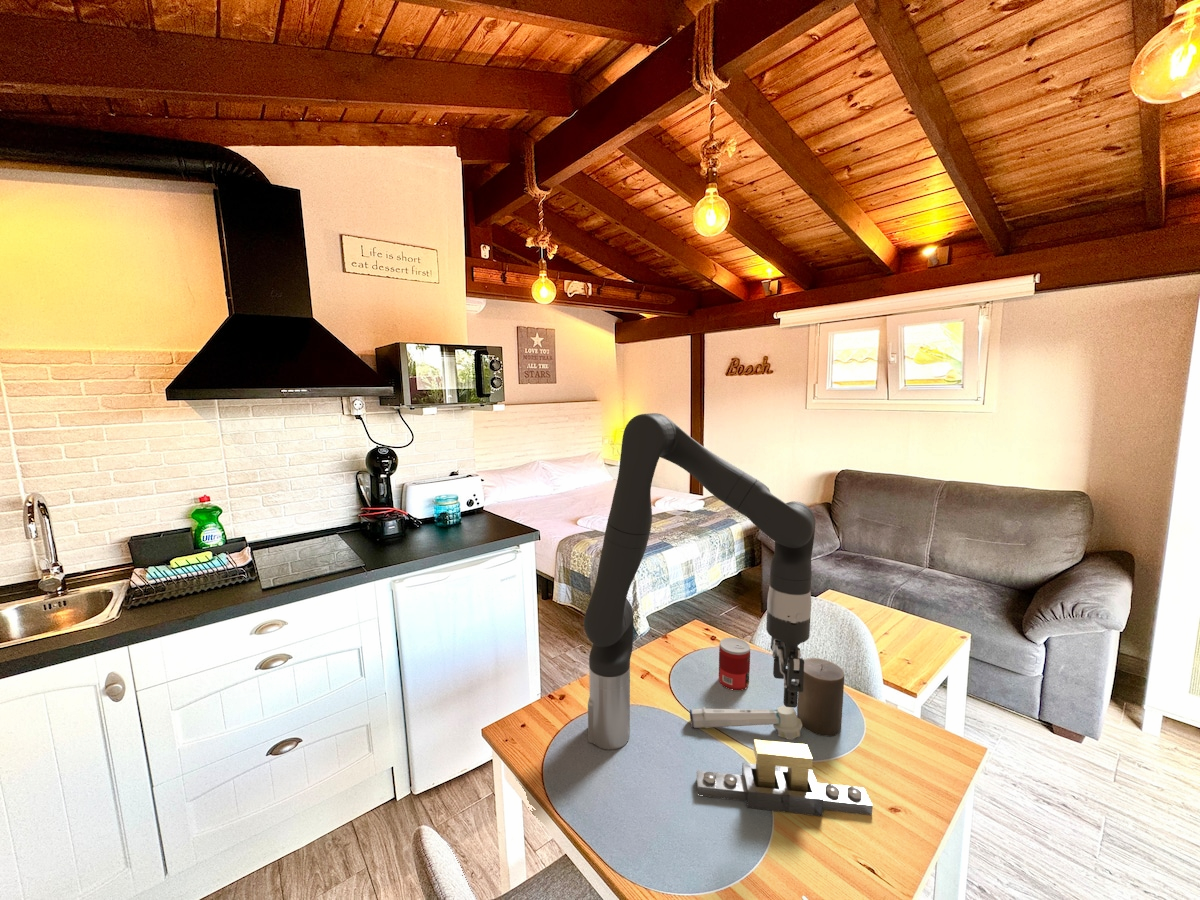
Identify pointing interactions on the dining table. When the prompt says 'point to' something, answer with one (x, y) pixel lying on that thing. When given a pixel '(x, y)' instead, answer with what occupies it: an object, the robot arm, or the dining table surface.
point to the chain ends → (783, 793)
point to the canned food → (734, 663)
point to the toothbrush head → (749, 719)
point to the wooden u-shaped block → (782, 764)
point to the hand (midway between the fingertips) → (784, 691)
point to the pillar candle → (821, 697)
